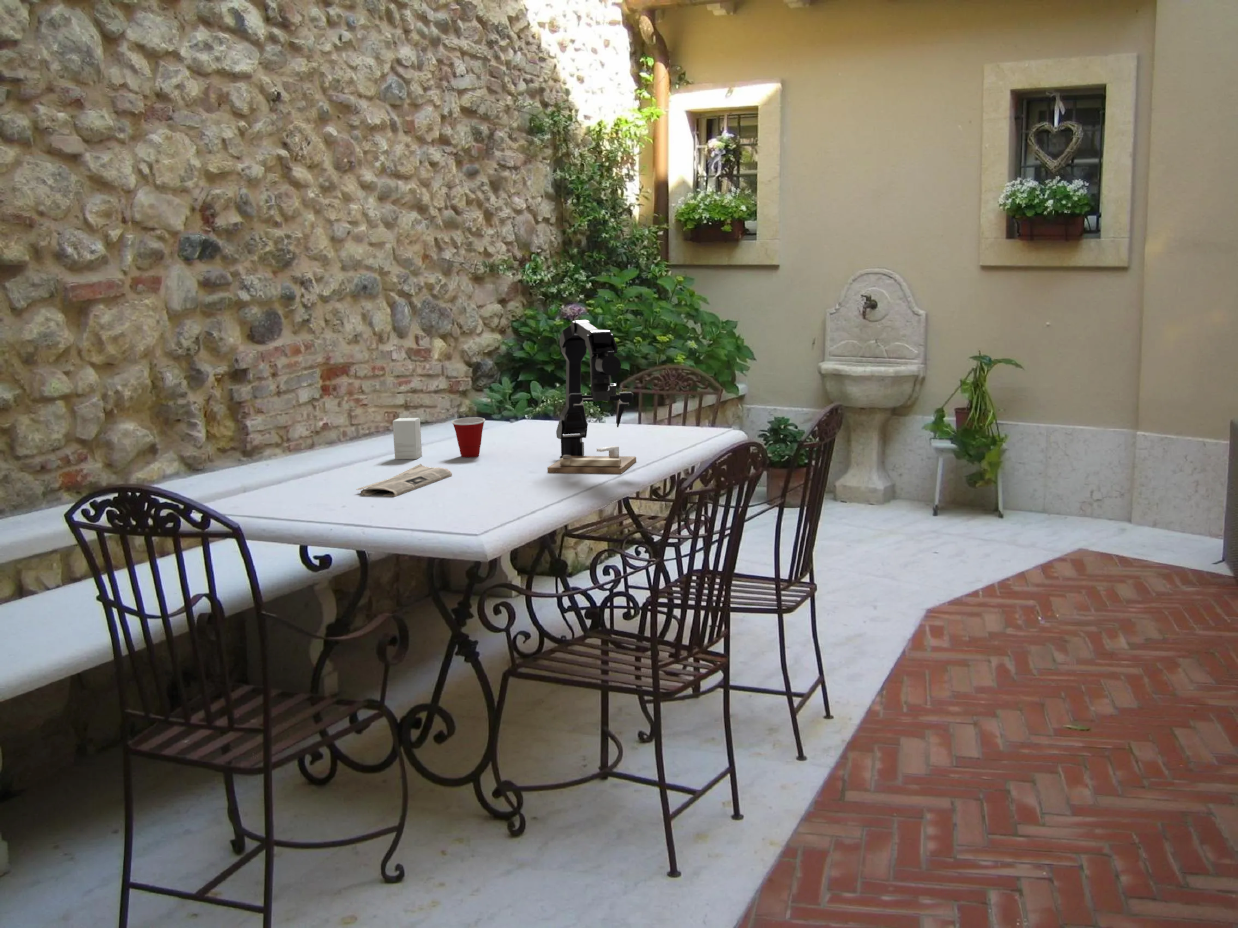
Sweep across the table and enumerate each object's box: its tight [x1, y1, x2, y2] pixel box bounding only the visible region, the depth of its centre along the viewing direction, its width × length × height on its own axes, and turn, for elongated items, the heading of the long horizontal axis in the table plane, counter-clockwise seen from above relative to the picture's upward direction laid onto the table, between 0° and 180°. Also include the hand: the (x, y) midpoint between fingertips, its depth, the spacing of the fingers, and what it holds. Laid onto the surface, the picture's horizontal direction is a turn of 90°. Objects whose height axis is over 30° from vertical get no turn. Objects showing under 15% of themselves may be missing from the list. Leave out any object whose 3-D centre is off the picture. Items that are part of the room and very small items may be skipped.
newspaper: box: [356, 463, 453, 497], centre depth 329 cm, size 35×12×4 cm, turn 162°
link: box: [559, 455, 621, 466], centre depth 345 cm, size 18×4×3 cm, turn 78°
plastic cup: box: [451, 416, 486, 458], centre depth 379 cm, size 11×11×12 cm
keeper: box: [596, 445, 620, 458], centre depth 359 cm, size 8×2×3 cm, turn 136°
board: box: [547, 455, 637, 474], centre depth 354 cm, size 22×23×2 cm
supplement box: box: [392, 417, 423, 460], centre depth 378 cm, size 7×7×13 cm
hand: (601, 427), depth 342 cm, fingers open, 9 cm apart
